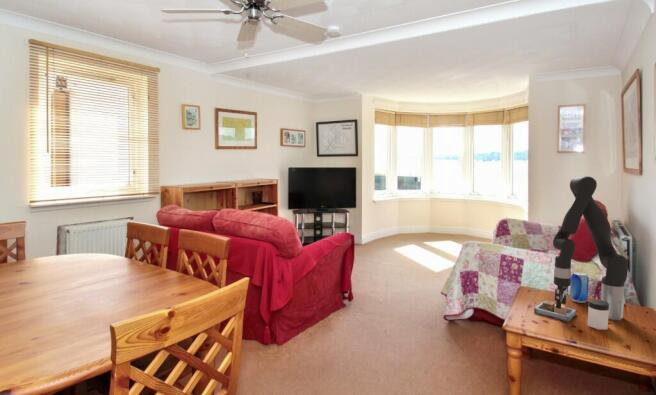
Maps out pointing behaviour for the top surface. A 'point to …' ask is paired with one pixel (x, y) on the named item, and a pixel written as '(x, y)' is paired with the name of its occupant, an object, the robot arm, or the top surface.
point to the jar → (598, 314)
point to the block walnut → (548, 306)
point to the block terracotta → (560, 311)
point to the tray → (569, 313)
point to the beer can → (579, 287)
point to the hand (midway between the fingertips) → (561, 306)
